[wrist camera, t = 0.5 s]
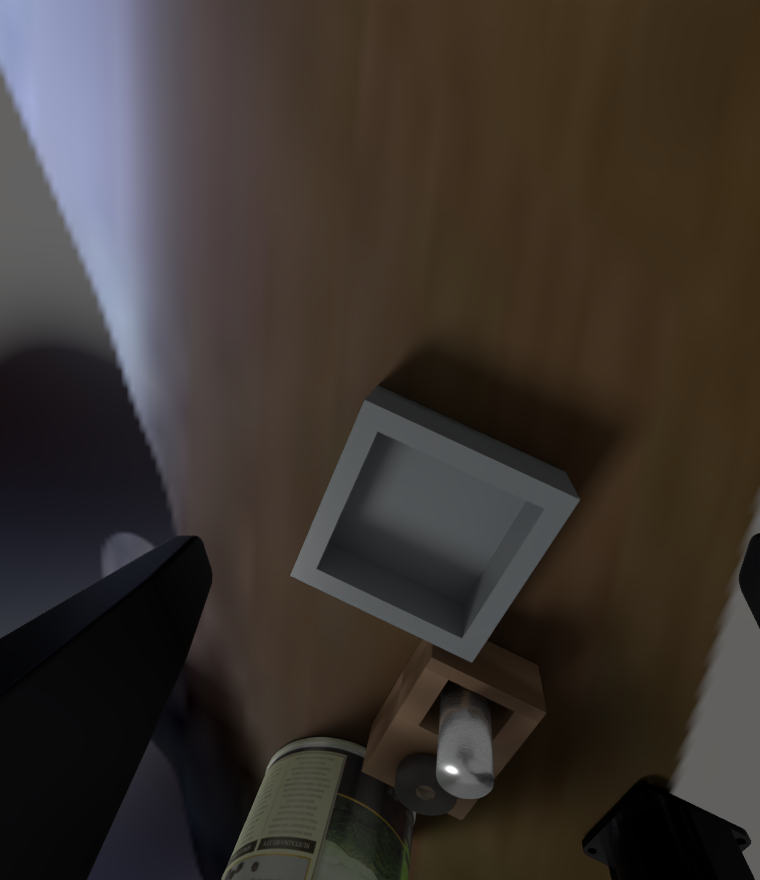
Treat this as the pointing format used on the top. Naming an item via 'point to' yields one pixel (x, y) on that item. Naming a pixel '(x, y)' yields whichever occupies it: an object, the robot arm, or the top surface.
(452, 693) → the pin
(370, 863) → the coffee can
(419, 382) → the top surface
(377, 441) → the pin tray
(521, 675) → the block
